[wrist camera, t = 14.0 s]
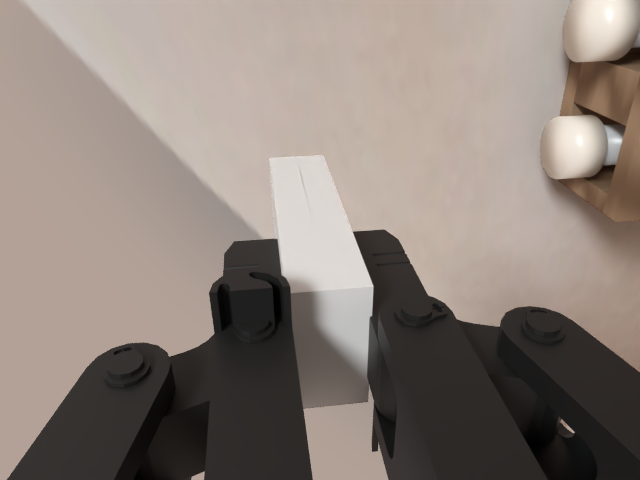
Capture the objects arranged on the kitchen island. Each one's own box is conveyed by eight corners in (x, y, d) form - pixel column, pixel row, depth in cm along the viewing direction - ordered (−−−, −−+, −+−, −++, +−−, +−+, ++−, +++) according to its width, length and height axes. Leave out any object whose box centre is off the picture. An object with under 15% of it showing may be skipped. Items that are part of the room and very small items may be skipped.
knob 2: (535, 166, 42) (566, 188, 38) (546, 109, 40) (580, 126, 36) (684, 156, 44) (728, 177, 40) (703, 101, 41) (752, 117, 37)
